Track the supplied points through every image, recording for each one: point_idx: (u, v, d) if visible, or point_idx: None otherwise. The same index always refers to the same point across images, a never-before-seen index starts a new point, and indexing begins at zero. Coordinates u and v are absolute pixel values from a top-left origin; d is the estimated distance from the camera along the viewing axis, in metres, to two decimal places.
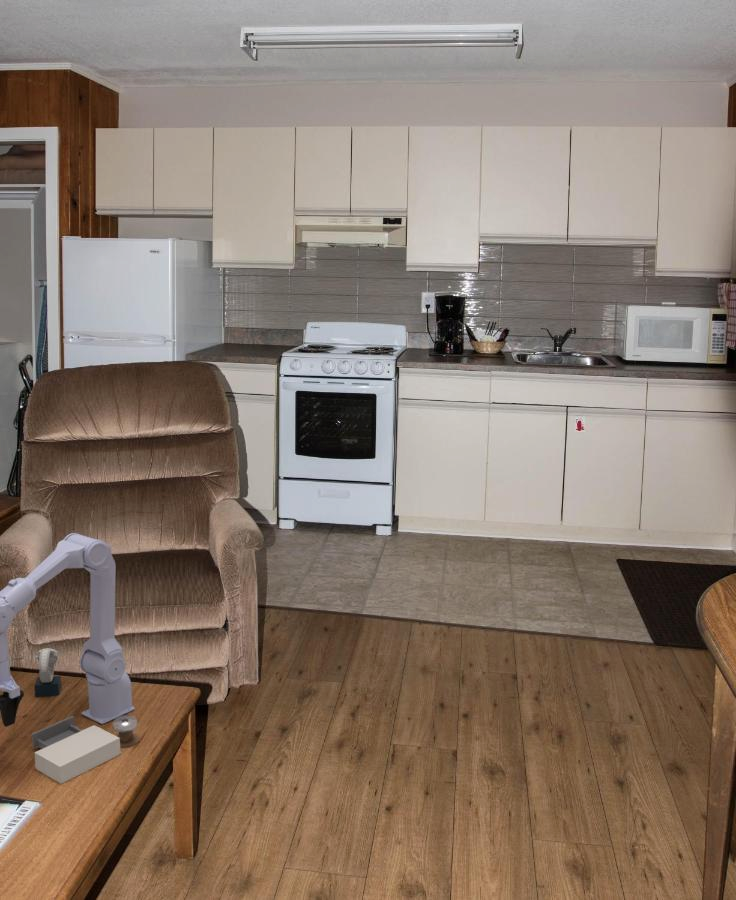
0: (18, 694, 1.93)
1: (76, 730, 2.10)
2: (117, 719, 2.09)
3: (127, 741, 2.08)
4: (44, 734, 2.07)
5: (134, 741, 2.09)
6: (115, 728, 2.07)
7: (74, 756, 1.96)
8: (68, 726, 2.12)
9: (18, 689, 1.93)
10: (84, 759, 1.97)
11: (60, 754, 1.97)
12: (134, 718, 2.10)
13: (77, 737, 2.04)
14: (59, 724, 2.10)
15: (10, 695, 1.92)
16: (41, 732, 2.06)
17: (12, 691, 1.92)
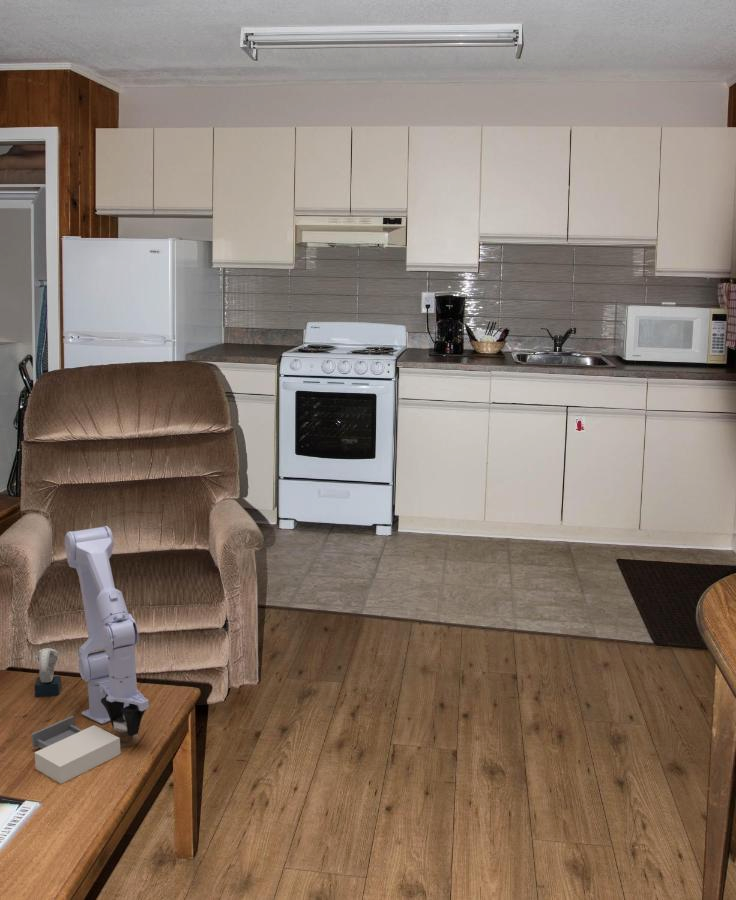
0: (147, 707, 2.04)
1: (76, 730, 2.10)
2: (117, 719, 2.09)
3: (127, 741, 2.08)
4: (44, 734, 2.07)
5: (134, 741, 2.09)
6: (115, 728, 2.07)
7: (74, 756, 1.96)
8: (68, 726, 2.12)
9: (147, 702, 2.04)
10: (84, 759, 1.97)
11: (60, 754, 1.97)
12: None
13: (77, 737, 2.04)
14: (59, 724, 2.10)
15: (140, 708, 2.03)
16: (41, 732, 2.06)
17: (142, 704, 2.03)
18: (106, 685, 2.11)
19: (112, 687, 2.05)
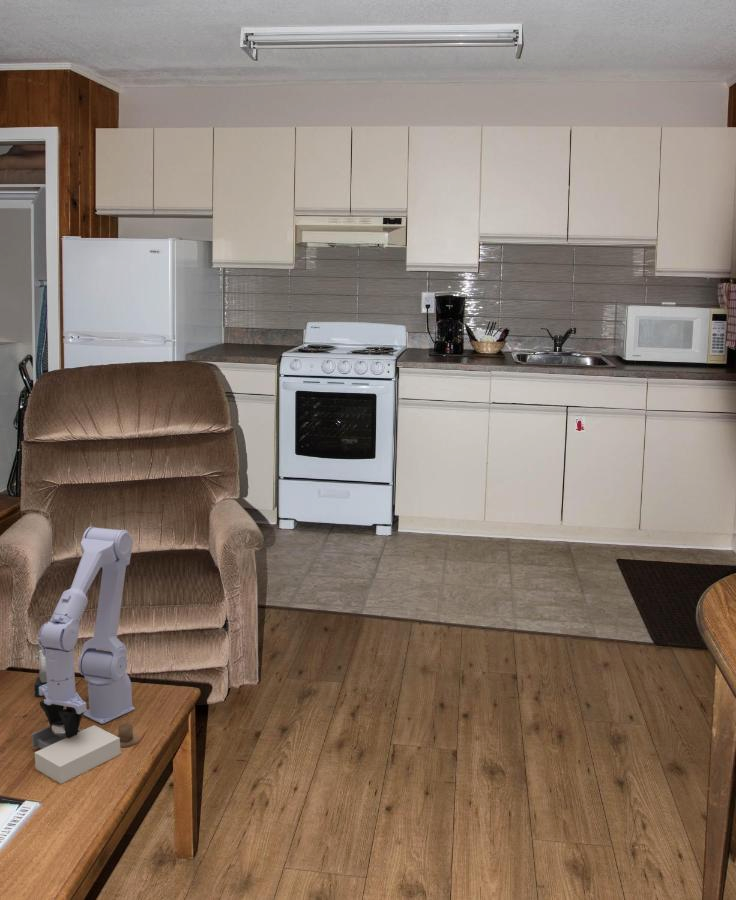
0: (84, 710, 2.01)
1: None
2: (56, 722, 2.06)
3: (127, 741, 2.08)
4: (44, 734, 2.07)
5: (134, 741, 2.09)
6: (53, 731, 2.04)
7: (74, 756, 1.96)
8: None
9: (85, 705, 2.01)
10: (84, 759, 1.97)
11: (60, 754, 1.97)
12: None
13: (77, 737, 2.04)
14: None
15: (77, 711, 2.00)
16: (41, 732, 2.06)
17: (79, 707, 2.00)
18: (45, 688, 2.08)
19: (49, 689, 2.02)
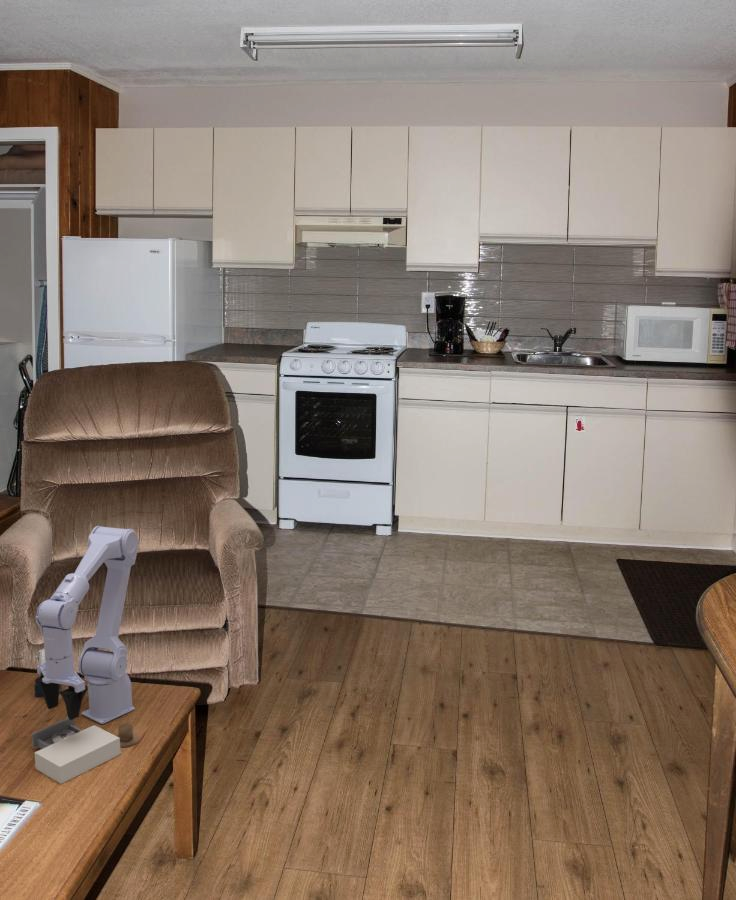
0: (83, 688, 2.00)
1: (76, 730, 2.10)
2: (56, 734, 2.07)
3: (127, 741, 2.08)
4: (44, 734, 2.07)
5: (134, 741, 2.09)
6: (53, 743, 2.05)
7: (74, 756, 1.96)
8: (68, 726, 2.12)
9: (83, 683, 2.00)
10: (84, 759, 1.97)
11: (60, 754, 1.97)
12: (73, 733, 2.08)
13: (77, 737, 2.04)
14: (59, 724, 2.10)
15: (76, 689, 1.99)
16: (41, 732, 2.06)
17: (78, 685, 1.99)
18: (44, 667, 2.07)
19: (48, 668, 2.01)
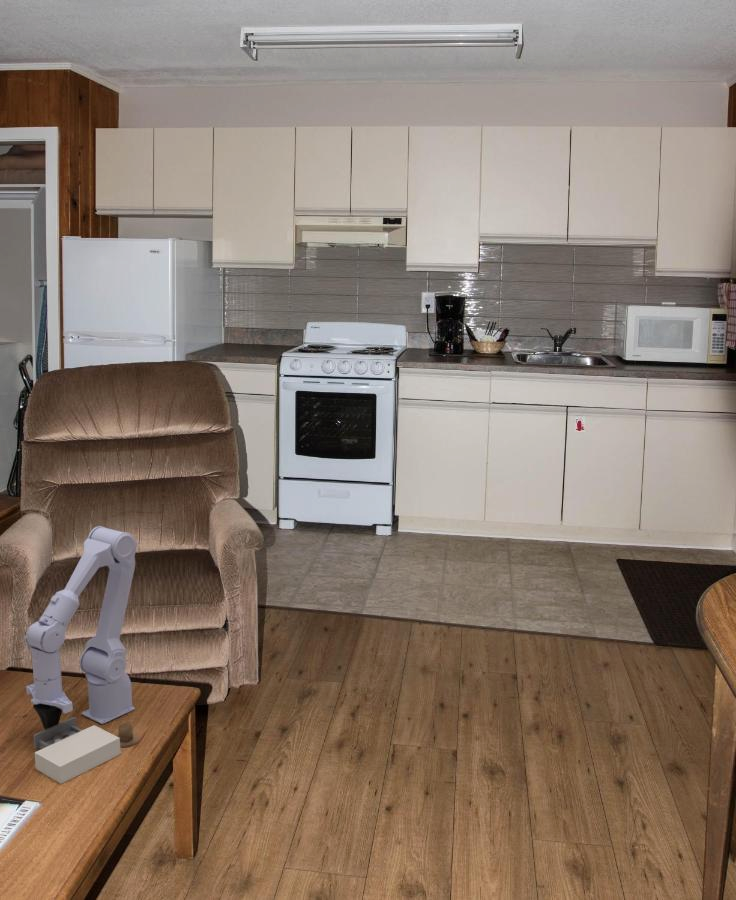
0: (71, 709, 2.04)
1: (78, 731, 2.10)
2: (58, 735, 2.07)
3: (127, 741, 2.08)
4: (46, 735, 2.07)
5: (134, 741, 2.09)
6: None
7: (74, 756, 1.96)
8: (70, 727, 2.11)
9: (71, 704, 2.04)
10: (84, 759, 1.97)
11: (60, 754, 1.97)
12: None
13: (77, 737, 2.04)
14: (61, 725, 2.09)
15: (64, 710, 2.03)
16: (43, 733, 2.06)
17: (65, 706, 2.03)
18: (33, 687, 2.11)
19: (36, 689, 2.05)
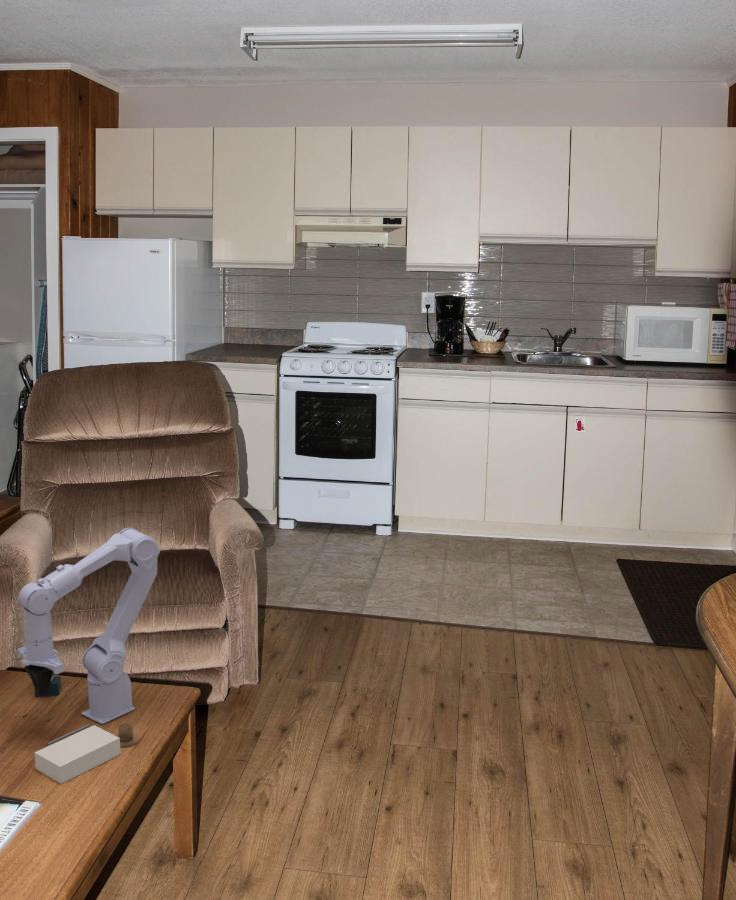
0: (62, 670, 2.06)
1: None
2: None
3: (127, 741, 2.08)
4: None
5: (134, 741, 2.09)
6: None
7: (74, 756, 1.96)
8: None
9: (62, 665, 2.06)
10: (84, 759, 1.97)
11: (60, 754, 1.97)
12: None
13: (77, 737, 2.04)
14: (75, 733, 2.06)
15: (55, 671, 2.05)
16: (57, 741, 2.03)
17: (56, 667, 2.05)
18: (24, 650, 2.13)
19: (28, 650, 2.07)
